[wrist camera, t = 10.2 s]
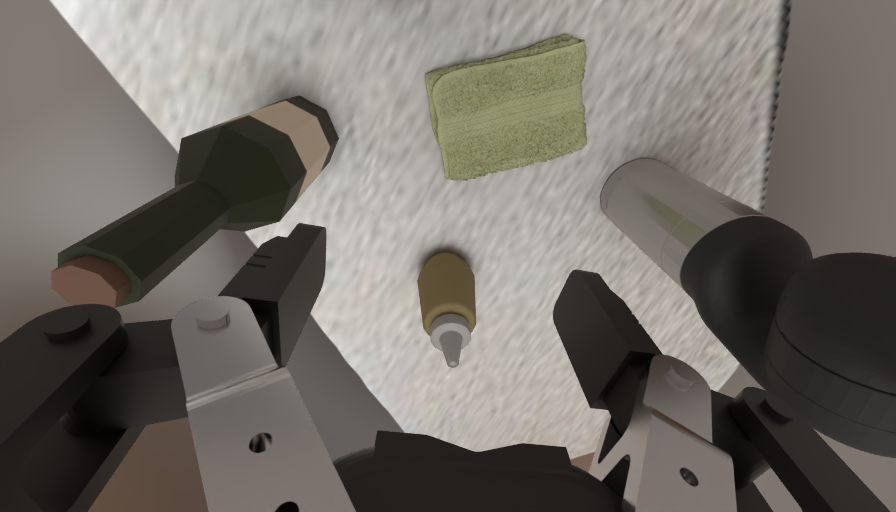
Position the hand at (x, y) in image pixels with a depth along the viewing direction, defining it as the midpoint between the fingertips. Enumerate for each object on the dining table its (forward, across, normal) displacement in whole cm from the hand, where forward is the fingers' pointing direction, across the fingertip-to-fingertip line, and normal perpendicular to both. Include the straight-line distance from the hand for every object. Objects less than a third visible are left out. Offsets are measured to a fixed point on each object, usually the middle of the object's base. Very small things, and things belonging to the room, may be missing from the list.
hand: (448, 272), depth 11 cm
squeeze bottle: (+33, -5, +22) cm, 40 cm away
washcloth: (+34, -8, -1) cm, 35 cm away
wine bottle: (+33, +15, +6) cm, 37 cm away
